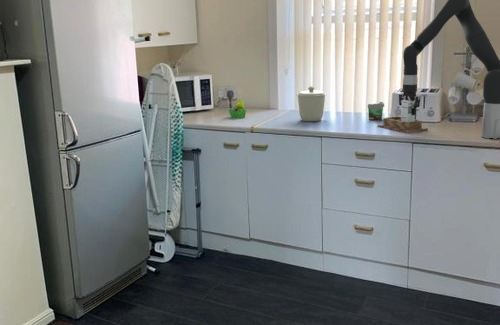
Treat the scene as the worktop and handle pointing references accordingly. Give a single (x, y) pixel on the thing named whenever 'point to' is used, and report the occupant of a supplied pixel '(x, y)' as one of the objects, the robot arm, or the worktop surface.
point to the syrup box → (407, 112)
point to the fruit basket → (238, 110)
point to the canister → (311, 104)
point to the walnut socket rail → (402, 125)
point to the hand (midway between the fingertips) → (408, 114)
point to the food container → (375, 111)
